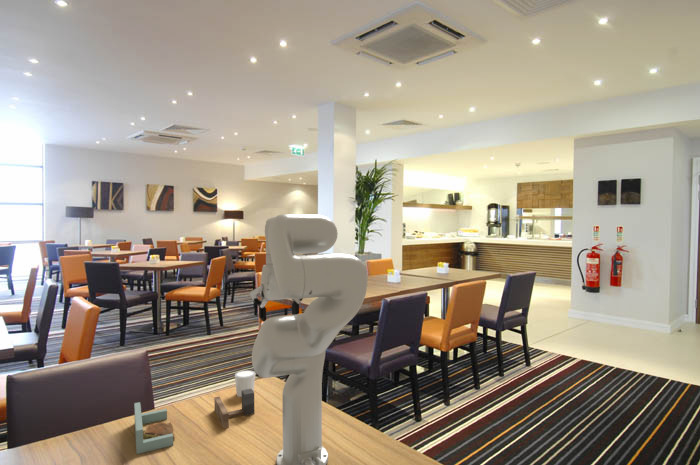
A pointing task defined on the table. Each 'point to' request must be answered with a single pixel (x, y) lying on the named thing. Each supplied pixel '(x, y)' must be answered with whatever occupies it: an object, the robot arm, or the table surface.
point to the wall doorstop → (246, 410)
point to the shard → (159, 430)
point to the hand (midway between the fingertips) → (279, 318)
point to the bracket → (139, 420)
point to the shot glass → (244, 381)
